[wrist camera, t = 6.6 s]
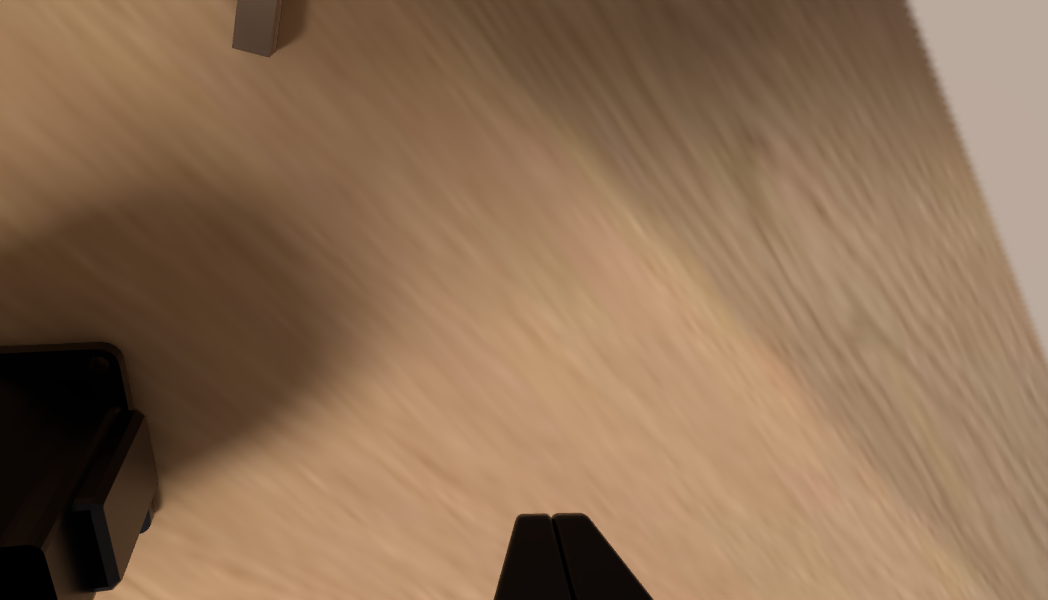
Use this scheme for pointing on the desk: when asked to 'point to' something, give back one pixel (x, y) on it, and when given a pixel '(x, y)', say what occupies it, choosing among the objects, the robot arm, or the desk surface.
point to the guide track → (257, 26)
